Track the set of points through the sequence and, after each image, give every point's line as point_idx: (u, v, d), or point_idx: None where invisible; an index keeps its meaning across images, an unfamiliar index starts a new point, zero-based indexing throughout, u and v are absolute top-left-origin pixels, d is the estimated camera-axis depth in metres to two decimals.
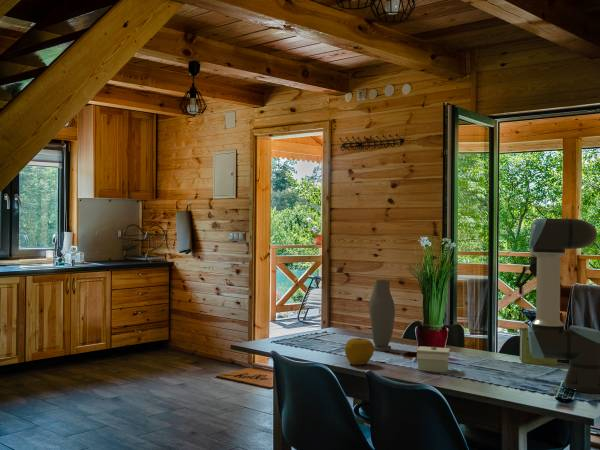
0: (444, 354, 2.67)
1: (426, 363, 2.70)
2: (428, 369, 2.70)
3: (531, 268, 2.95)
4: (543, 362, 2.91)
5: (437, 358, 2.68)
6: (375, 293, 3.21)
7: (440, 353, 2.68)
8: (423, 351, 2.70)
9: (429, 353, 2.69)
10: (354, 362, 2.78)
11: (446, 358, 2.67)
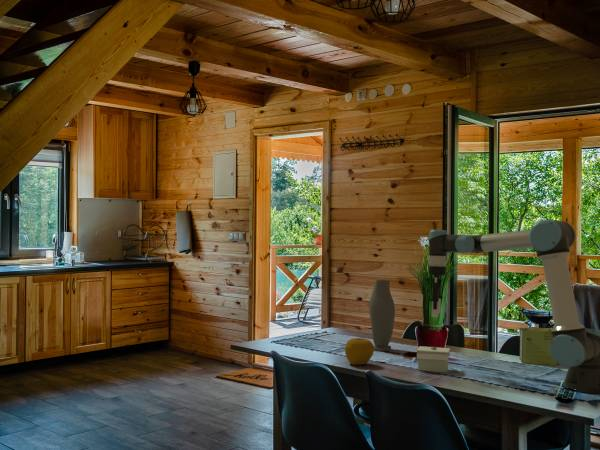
0: (444, 354, 2.67)
1: (426, 363, 2.70)
2: (428, 369, 2.70)
3: None
4: (543, 362, 2.91)
5: (437, 358, 2.68)
6: (375, 293, 3.21)
7: (440, 353, 2.68)
8: (423, 351, 2.70)
9: (429, 353, 2.69)
10: (354, 362, 2.78)
11: (446, 358, 2.67)
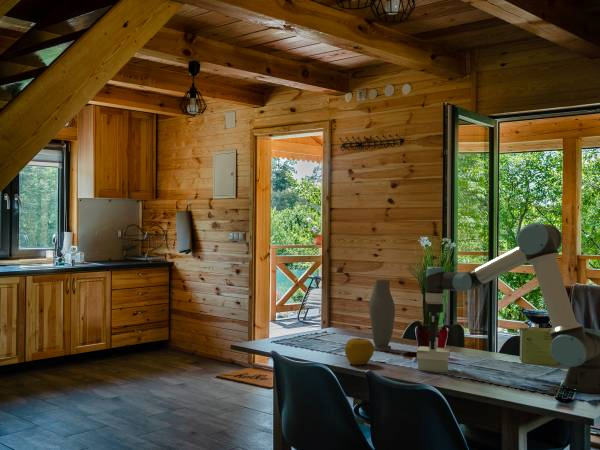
0: (444, 354, 2.67)
1: (426, 363, 2.70)
2: (428, 369, 2.70)
3: None
4: (543, 362, 2.91)
5: (437, 358, 2.68)
6: (375, 293, 3.21)
7: (440, 353, 2.67)
8: (423, 351, 2.70)
9: None
10: (354, 362, 2.78)
11: (446, 358, 2.67)
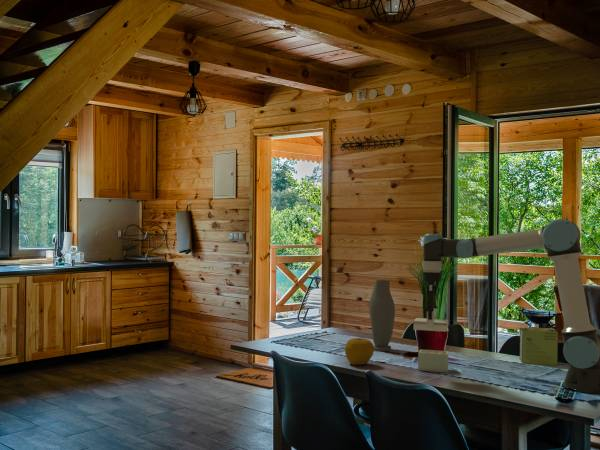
0: (442, 325, 2.53)
1: (426, 363, 2.70)
2: (428, 369, 2.70)
3: None
4: (543, 362, 2.91)
5: (435, 329, 2.54)
6: (375, 293, 3.21)
7: (438, 324, 2.53)
8: (420, 322, 2.56)
9: (426, 324, 2.55)
10: (354, 362, 2.78)
11: (444, 329, 2.53)
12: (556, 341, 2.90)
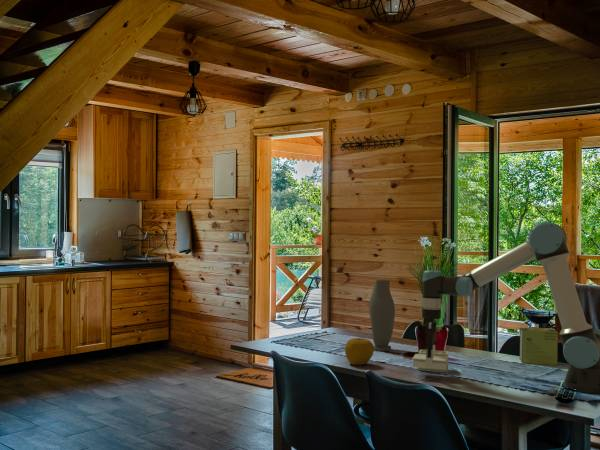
0: (441, 363, 2.53)
1: None
2: (428, 369, 2.70)
3: None
4: (543, 362, 2.91)
5: (434, 367, 2.53)
6: (375, 293, 3.21)
7: (437, 362, 2.53)
8: (419, 359, 2.55)
9: None
10: (354, 362, 2.78)
11: (443, 367, 2.52)
12: (556, 341, 2.90)
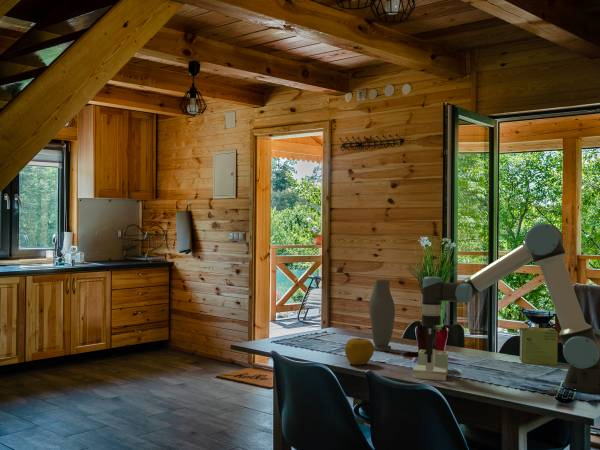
0: (441, 374, 2.53)
1: None
2: None
3: None
4: (543, 362, 2.91)
5: (434, 378, 2.53)
6: (375, 293, 3.21)
7: (437, 373, 2.53)
8: (419, 371, 2.55)
9: (426, 373, 2.54)
10: (354, 362, 2.78)
11: (444, 378, 2.52)
12: (556, 341, 2.90)
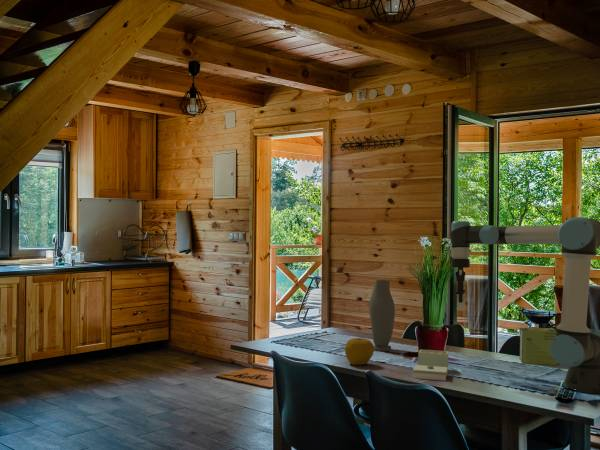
0: (441, 374, 2.53)
1: (426, 363, 2.70)
2: None
3: None
4: (543, 362, 2.91)
5: (434, 378, 2.53)
6: (375, 293, 3.21)
7: (437, 373, 2.53)
8: (419, 371, 2.55)
9: (426, 373, 2.54)
10: (354, 362, 2.78)
11: (444, 378, 2.52)
12: None
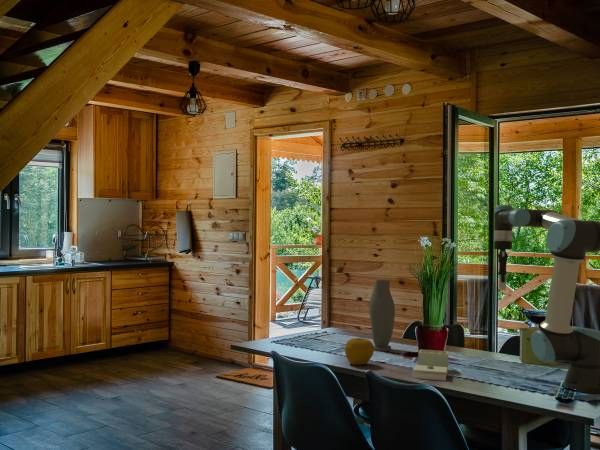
0: (441, 374, 2.53)
1: (426, 363, 2.70)
2: None
3: None
4: (543, 362, 2.91)
5: (434, 378, 2.53)
6: (375, 293, 3.21)
7: (437, 373, 2.53)
8: (419, 371, 2.55)
9: (426, 373, 2.54)
10: (354, 362, 2.78)
11: (444, 378, 2.52)
12: None
